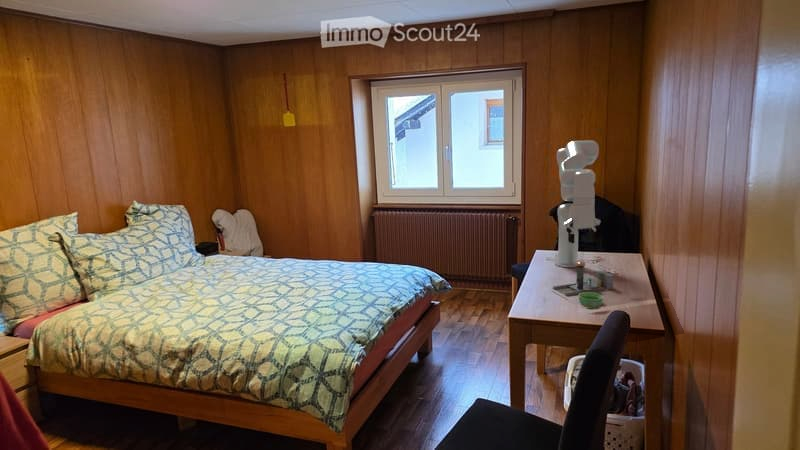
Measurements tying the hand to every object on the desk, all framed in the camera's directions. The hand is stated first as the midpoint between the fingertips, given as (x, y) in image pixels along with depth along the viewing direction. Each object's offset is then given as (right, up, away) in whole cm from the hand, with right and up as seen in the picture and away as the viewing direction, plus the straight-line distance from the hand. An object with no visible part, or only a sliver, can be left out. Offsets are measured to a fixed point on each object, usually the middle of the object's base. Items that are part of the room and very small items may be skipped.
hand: (581, 241), depth 208 cm
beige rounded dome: (+9, -20, +6) cm, 23 cm away
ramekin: (-1, -26, -12) cm, 28 cm away
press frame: (+4, -22, +5) cm, 23 cm away
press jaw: (+2, -20, +4) cm, 21 cm away
